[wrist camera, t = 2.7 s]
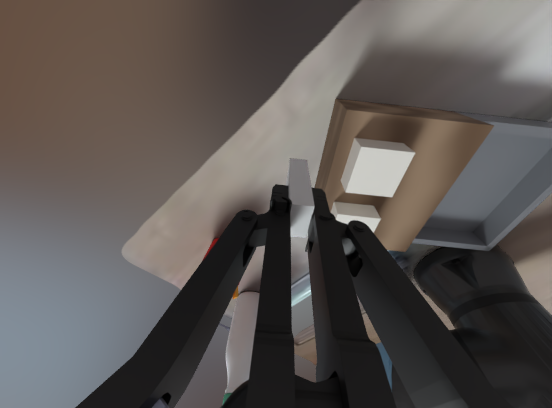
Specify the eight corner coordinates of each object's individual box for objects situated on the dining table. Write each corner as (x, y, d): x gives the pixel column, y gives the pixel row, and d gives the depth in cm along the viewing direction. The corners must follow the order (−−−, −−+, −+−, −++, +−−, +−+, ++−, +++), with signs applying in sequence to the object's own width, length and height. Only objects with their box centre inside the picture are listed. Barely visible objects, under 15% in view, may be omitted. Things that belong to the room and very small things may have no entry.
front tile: (403, 143, 21) (415, 152, 19) (383, 185, 24) (392, 197, 21) (354, 137, 21) (361, 146, 19) (340, 180, 23) (345, 192, 21)
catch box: (570, 124, 24) (614, 134, 21) (470, 232, 35) (488, 251, 31) (453, 111, 24) (478, 120, 21) (389, 224, 35) (399, 241, 31)
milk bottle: (231, 293, 51) (204, 403, 35) (258, 287, 49) (242, 402, 33) (246, 308, 55) (228, 413, 39) (272, 303, 53) (264, 412, 37)
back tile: (373, 205, 25) (380, 218, 23) (360, 234, 28) (365, 247, 26) (334, 201, 25) (337, 214, 23) (324, 230, 28) (327, 243, 26)
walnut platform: (453, 111, 24) (494, 125, 19) (389, 224, 35) (405, 251, 30) (335, 98, 24) (346, 109, 19) (308, 215, 35) (310, 241, 30)
